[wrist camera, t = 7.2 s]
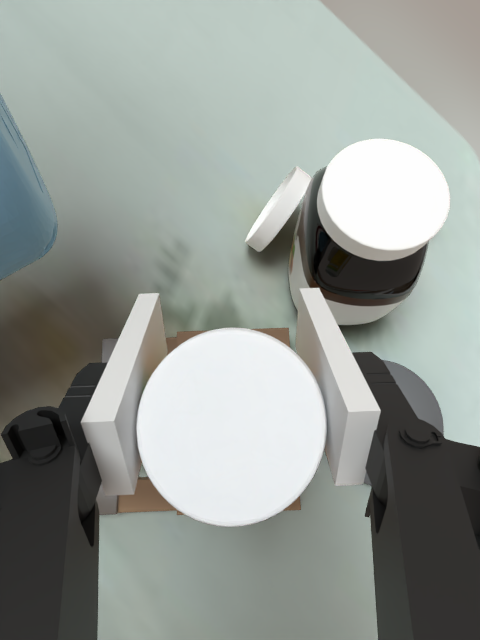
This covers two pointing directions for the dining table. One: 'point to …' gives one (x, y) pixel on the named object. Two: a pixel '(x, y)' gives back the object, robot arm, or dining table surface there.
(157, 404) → the supplement bottle
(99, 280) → the dining table surface
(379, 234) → the spread jar
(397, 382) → the pad
